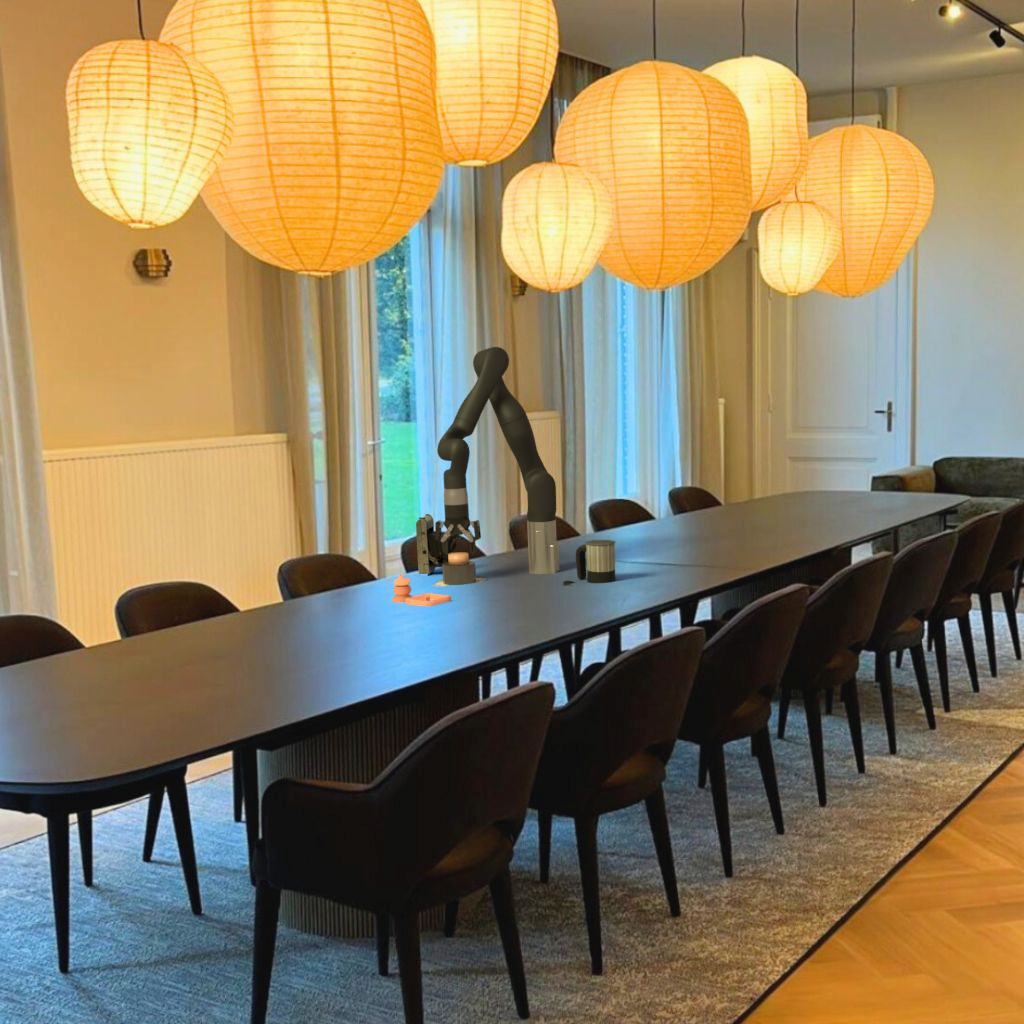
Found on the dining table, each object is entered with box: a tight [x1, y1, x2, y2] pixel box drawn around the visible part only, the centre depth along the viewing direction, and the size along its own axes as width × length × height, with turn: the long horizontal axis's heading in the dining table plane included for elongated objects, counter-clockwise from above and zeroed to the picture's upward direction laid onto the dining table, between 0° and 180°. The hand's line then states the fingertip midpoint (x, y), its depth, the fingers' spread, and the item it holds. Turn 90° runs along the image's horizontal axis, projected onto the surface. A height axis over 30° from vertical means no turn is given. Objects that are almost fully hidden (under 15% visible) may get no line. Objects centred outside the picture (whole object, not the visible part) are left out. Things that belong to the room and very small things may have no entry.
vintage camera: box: [415, 513, 460, 575], centre depth 435 cm, size 10×15×20 cm, turn 78°
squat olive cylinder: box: [441, 560, 477, 586], centre depth 413 cm, size 10×10×6 cm
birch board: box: [431, 577, 488, 587], centre depth 414 cm, size 14×14×2 cm
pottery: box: [391, 574, 452, 607], centre depth 382 cm, size 18×10×10 cm, turn 50°
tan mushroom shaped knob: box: [448, 551, 470, 565], centre depth 413 cm, size 6×6×8 cm
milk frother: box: [562, 539, 617, 587], centre depth 398 cm, size 14×16×15 cm
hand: (459, 553), depth 412 cm, fingers open, 8 cm apart
